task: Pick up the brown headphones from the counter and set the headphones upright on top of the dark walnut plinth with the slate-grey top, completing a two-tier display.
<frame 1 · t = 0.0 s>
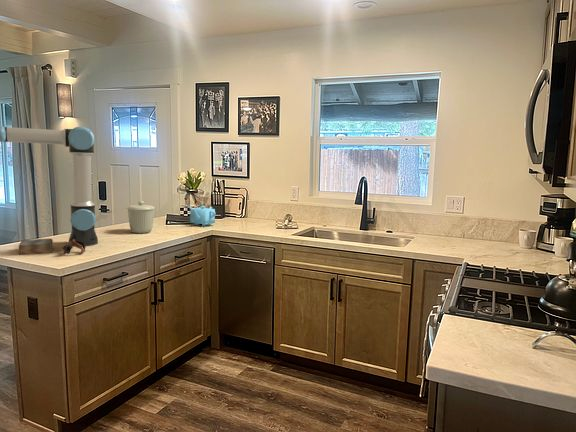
walnut plinth: (36, 250, 218), on the countertop
canister: (141, 232, 281), on the countertop
teakettle: (201, 225, 319), on the countertop
brown headphones: (73, 254, 216), on the countertop
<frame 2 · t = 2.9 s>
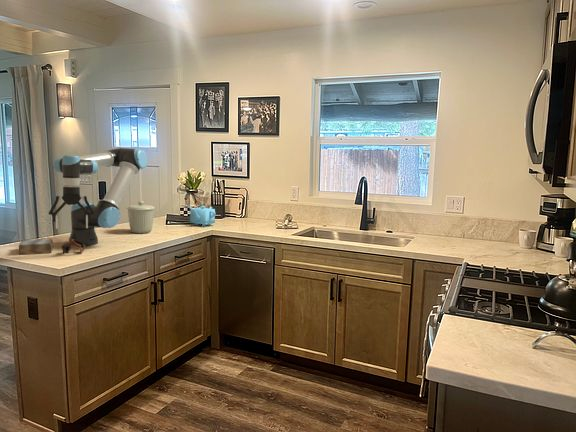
hand: (72, 228, 214), 13 cm above the countertop, tool pointing down, fingers open, 13 cm apart
brown headphones: (71, 254, 216), on the countertop
everything else where it was.
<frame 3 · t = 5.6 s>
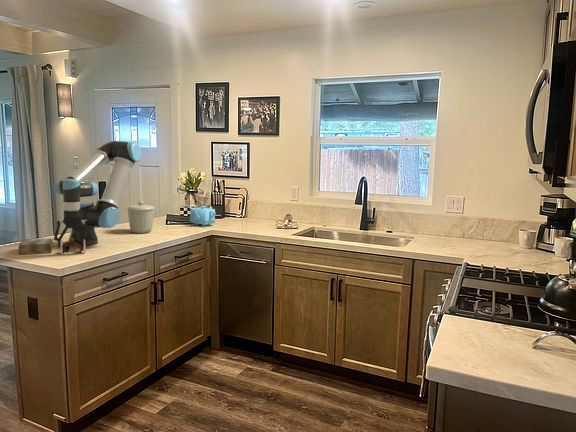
hand: (73, 252, 216), 0 cm above the countertop, tool pointing down, fingers closed on brown headphones, 10 cm apart
brown headphones: (71, 253, 217), on the countertop, touching gripper
everything else where it was.
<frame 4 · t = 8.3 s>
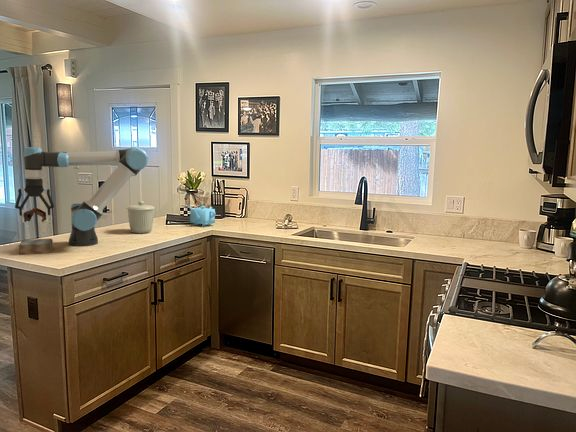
hand: (35, 221, 216), 15 cm above the countertop, tool pointing down, fingers closed on brown headphones, 10 cm apart
brown headphones: (33, 222, 217), point 15 cm above the countertop, touching gripper
everything else where it was.
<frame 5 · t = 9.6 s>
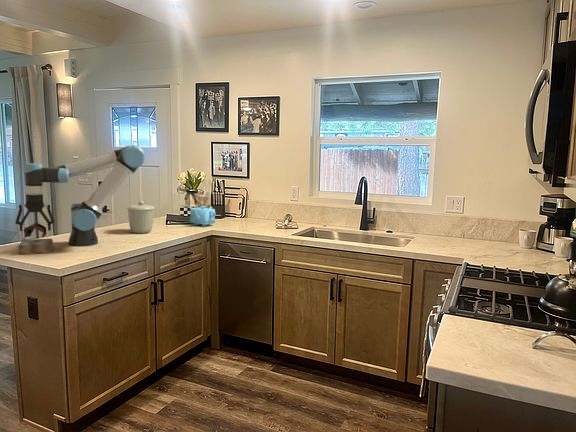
hand: (35, 237, 217), 7 cm above the countertop, tool pointing down, fingers closed on brown headphones, 10 cm apart
brown headphones: (34, 237, 218), point 7 cm above the countertop, touching gripper
everything else where it was.
when the fingers open (6 cm above the countertop, at t = 10.8 s): brown headphones stays where it is, resting on walnut plinth.
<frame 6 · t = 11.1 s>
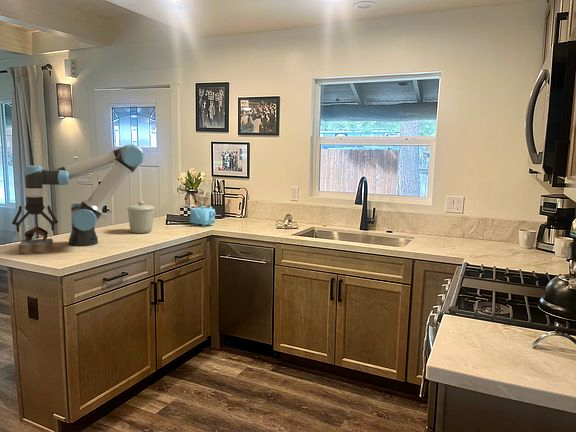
hand: (36, 237, 217), 7 cm above the countertop, tool pointing down, fingers open, 13 cm apart
brown headphones: (34, 241, 219), point 5 cm above the countertop, touching walnut plinth
everything else where it was.
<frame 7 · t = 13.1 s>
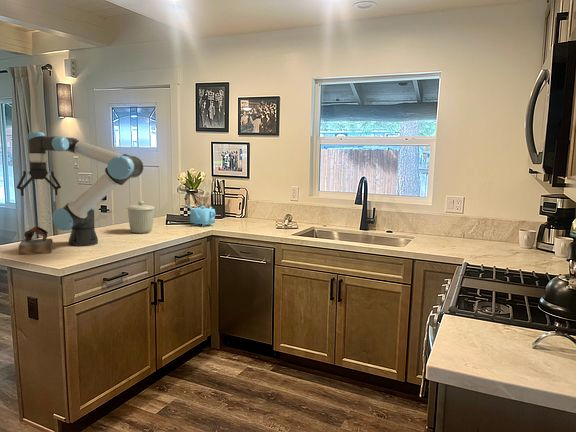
hand: (40, 201, 225), 24 cm above the countertop, tool pointing down, fingers open, 13 cm apart
nothing on the countertop moved.
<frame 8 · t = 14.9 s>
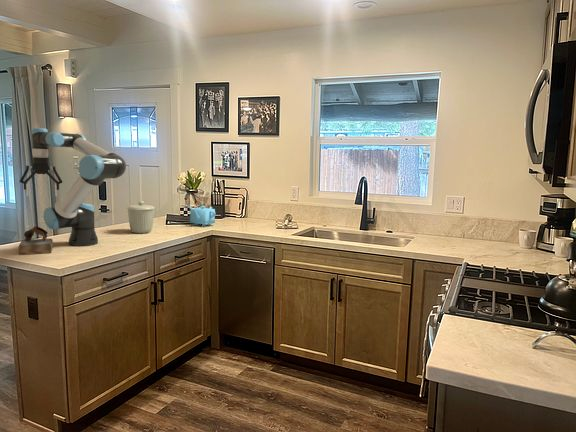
hand: (42, 195, 232), 27 cm above the countertop, tool pointing down, fingers open, 13 cm apart
nothing on the countertop moved.
at the end: brown headphones inside the target area on the walnut plinth (2.5 cm from its centre), point 4.8 cm above the walnut plinth's base; brown headphones tilted 0°; the gripper is holding nothing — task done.
